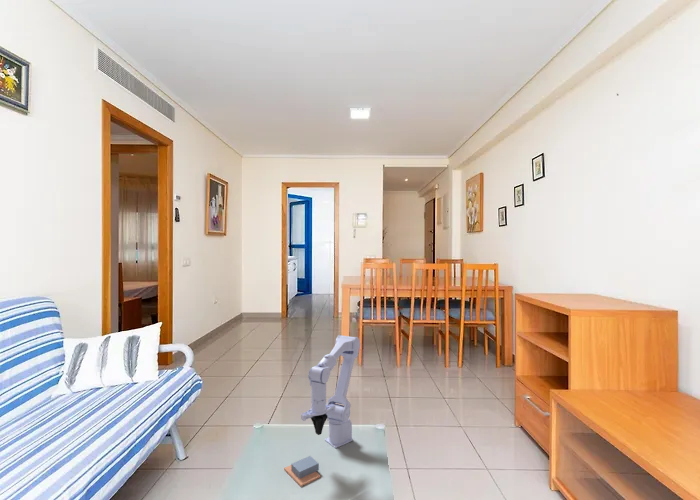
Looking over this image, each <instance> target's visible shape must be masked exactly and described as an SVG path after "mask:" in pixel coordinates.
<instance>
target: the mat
mask: <svg viewBox="0 0 700 500" xmlns="http://www.w3.org/2000/svg"><path fill="white" fill-rule="evenodd" d="M283 469H284V472H286V473H287V474H288V475H289V476H290V478H292V479H293V480H294V481H295V483H296V484H297V485H299V486H300V487H301V486H302V487H303V485H304V486H305V485H308V484H309V483H311V482H314V481H317V480H318V479H319V478H321V475H320V474H319V472H318V471H316V472H314V473H312V474H309V475H307V476H305V477H303V478H301V479H299V478H298V477H297V476H296V475H295V474H294V473H293V472H292V471H291V464H290V465H288V466H286V467H284V468H283Z"/></svg>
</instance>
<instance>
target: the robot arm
mask: <svg viewBox="0 0 700 500" xmlns="http://www.w3.org/2000/svg"><path fill="white" fill-rule="evenodd" d="M360 348H361V340H360V338H359V337H358V336H348V335H342V334H338V335H337V337H336V338H335V345H334V346H333V348H332V349H331V351H330V353H329V354H325V355H323V358H322V359H320V361H319V362H318V363H317V365H315V366H312V367H311V368H310V369H309V371H308V376H307V379H308V381H309V385H310V389H311V390H310V391H311V393H310V395H311V396H310V399H311V400H310V402H311V403H310V407H311V408H309V409H308V410H306V411H305V412H302V413H301V414H300V420H302V422H305V421H306V420H308V419H310V420H311V422H312V424H313V427H314V431H315V434H316V435H318V436H321V434H322V432H323V429H324V425H325V423H326V421H327V422H328V437H327V438H326V437H325V438H324V441H325V442H326V443H328V445H331V447H333V448H334V449H336V448H339V447H342V446H344V445H346V444H348V443H350V442H352V441H354V438H353V432H352V431H353V425H352V421H351V418H350V417H351V407H352V406H351V405H352V404H351V402H350V401H349V399H348V398H347V393H348V390H349V385H350V383H351V382H350V381H351V377H352V371H353V369H354V363H355V359H356V358H359V357H358V356H359V352H360V350H361V349H360ZM340 356H341V357H342V363H341V368H340V370H339V374H338V375H339V376H338V379H337V382H336V383H337V384H336V388H335V392H334V395H332V396H331V397H329V398H328V399H327V382H328V381H329V378H330V376H331V371H332V370H334V369H335V366H336V365H337V359H338V358H339V357H340Z"/></svg>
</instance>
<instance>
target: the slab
mask: <svg viewBox="0 0 700 500" xmlns="http://www.w3.org/2000/svg"><path fill="white" fill-rule="evenodd" d="M290 465H291V471H292V472H293V473H294V474H295V475H296V476H297V477H298V478H299V479H301V478H303V477H305V476H307V475H309V474H312V473H314V472H318V471H319V470H320V469H319V468H320V467H319V462H318V460H316V459H314V458H313V457H312V456H311V455H307V456H306V457H305V458H302V459H299V460H297V461H294V462H292V463H291V464H290Z"/></svg>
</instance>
